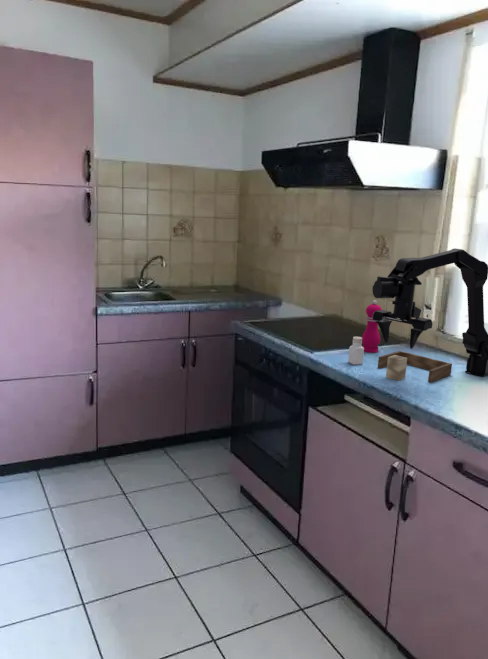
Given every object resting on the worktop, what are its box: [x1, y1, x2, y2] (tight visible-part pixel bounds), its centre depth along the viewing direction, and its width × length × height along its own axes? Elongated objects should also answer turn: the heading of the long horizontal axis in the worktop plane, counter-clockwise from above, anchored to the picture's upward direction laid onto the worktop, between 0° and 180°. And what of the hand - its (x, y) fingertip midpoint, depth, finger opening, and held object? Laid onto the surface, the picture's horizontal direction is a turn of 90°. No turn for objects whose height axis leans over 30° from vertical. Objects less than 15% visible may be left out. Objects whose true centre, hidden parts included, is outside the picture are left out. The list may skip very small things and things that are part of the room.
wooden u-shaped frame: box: [377, 350, 453, 384], centre depth 192 cm, size 20×14×4 cm
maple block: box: [385, 355, 408, 382], centre depth 183 cm, size 4×4×7 cm
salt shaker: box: [348, 336, 365, 366], centre depth 197 cm, size 4×4×10 cm
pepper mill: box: [361, 299, 383, 354], centre depth 215 cm, size 7×7×20 cm
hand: (398, 345), depth 181 cm, fingers open, 9 cm apart
